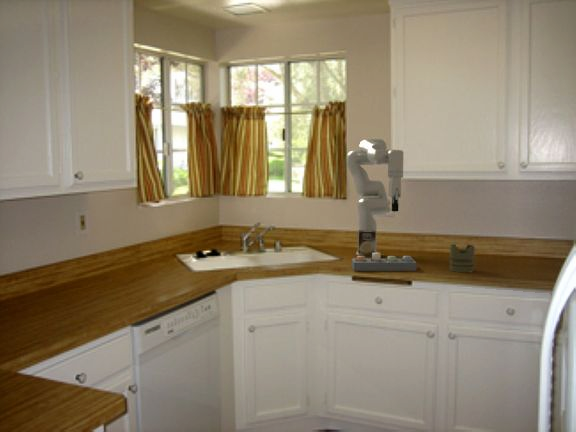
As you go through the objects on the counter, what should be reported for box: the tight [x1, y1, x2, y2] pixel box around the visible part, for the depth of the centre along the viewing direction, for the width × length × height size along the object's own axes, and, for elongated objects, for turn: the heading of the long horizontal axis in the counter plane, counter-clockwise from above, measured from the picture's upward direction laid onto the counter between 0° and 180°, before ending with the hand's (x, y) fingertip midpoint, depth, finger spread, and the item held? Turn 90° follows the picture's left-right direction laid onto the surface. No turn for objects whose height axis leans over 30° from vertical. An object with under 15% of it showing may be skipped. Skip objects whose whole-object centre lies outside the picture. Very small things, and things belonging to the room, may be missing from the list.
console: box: [351, 257, 418, 272], centre depth 305 cm, size 12×30×4 cm, turn 89°
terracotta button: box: [356, 255, 365, 261], centre depth 305 cm, size 4×4×4 cm
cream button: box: [372, 252, 382, 261], centre depth 305 cm, size 4×4×4 cm
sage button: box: [387, 255, 397, 261], centre depth 305 cm, size 4×4×4 cm
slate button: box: [402, 255, 412, 261], centre depth 305 cm, size 4×4×4 cm
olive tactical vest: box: [449, 243, 476, 273], centre depth 299 cm, size 11×12×11 cm
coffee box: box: [357, 229, 377, 258], centre depth 324 cm, size 9×6×16 cm
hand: (394, 211), depth 313 cm, fingers closed
